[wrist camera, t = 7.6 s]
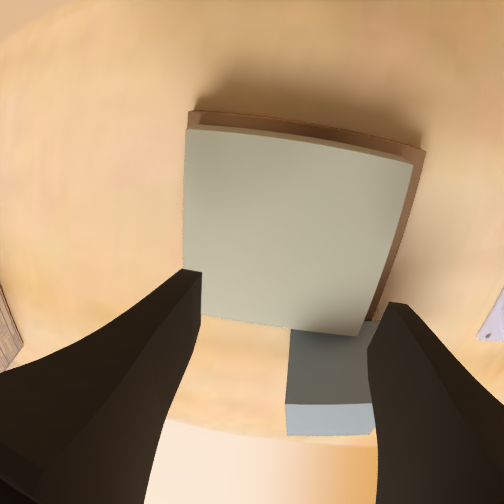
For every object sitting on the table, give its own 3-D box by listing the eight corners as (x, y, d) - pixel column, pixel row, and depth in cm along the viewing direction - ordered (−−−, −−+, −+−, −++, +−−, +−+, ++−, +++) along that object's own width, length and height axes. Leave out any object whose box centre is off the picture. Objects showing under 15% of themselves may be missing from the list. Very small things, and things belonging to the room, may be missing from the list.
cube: (379, 320, 15) (390, 401, 11) (365, 366, 18) (369, 434, 14) (291, 321, 16) (284, 404, 12) (292, 367, 18) (287, 435, 15)
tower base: (413, 144, 12) (426, 151, 11) (361, 314, 17) (365, 332, 16) (198, 108, 13) (188, 111, 11) (192, 288, 17) (184, 305, 16)
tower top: (400, 155, 11) (413, 164, 10) (353, 315, 15) (357, 336, 14) (198, 124, 12) (185, 129, 10) (192, 292, 15) (184, 311, 14)
